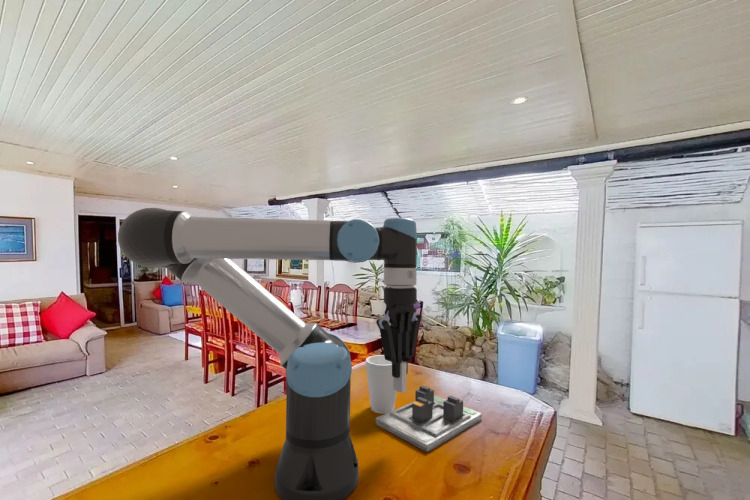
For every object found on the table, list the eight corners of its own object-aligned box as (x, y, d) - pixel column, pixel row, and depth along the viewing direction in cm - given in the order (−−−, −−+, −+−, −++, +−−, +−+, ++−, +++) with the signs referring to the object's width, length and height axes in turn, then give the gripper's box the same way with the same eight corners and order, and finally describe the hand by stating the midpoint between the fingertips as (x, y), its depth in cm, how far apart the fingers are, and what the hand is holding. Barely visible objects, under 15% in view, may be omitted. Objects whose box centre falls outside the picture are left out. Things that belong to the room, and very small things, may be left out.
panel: (427, 452, 72) (427, 442, 72) (375, 424, 84) (375, 415, 84) (481, 419, 87) (482, 411, 87) (431, 399, 99) (431, 392, 99)
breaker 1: (424, 409, 89) (424, 390, 89) (415, 405, 91) (415, 387, 91) (433, 405, 91) (433, 387, 92) (424, 401, 94) (425, 383, 94)
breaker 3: (453, 422, 82) (453, 402, 82) (443, 417, 84) (443, 398, 84) (463, 417, 85) (463, 397, 85) (452, 412, 87) (452, 393, 87)
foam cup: (400, 402, 97) (401, 355, 97) (399, 417, 88) (400, 366, 88) (367, 400, 98) (367, 354, 98) (362, 415, 89) (363, 364, 89)
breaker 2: (420, 424, 81) (421, 403, 81) (411, 419, 83) (411, 399, 83) (432, 418, 84) (432, 398, 84) (422, 414, 86) (422, 395, 86)
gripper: (391, 289, 71) (391, 403, 71) (431, 285, 80) (430, 387, 80) (367, 286, 77) (367, 393, 76) (407, 283, 86) (406, 379, 85)
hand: (399, 390), depth 78 cm, fingers closed
